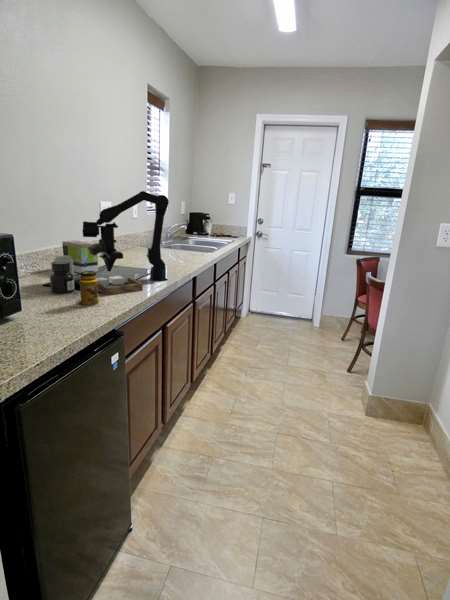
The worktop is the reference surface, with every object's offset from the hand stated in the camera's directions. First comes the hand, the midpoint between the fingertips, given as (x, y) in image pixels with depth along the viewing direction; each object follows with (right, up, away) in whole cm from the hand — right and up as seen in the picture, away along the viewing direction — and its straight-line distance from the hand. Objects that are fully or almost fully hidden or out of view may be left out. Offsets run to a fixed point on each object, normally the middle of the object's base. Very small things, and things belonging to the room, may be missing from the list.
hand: (109, 271), depth 163 cm
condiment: (+3, -15, -34) cm, 37 cm away
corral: (+8, -9, -13) cm, 18 cm away
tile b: (-1, -7, -8) cm, 11 cm away
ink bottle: (-12, -10, -20) cm, 26 cm away
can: (-17, -6, -8) cm, 20 cm away
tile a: (+5, -6, -4) cm, 9 cm away
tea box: (-20, +2, +18) cm, 27 cm away
